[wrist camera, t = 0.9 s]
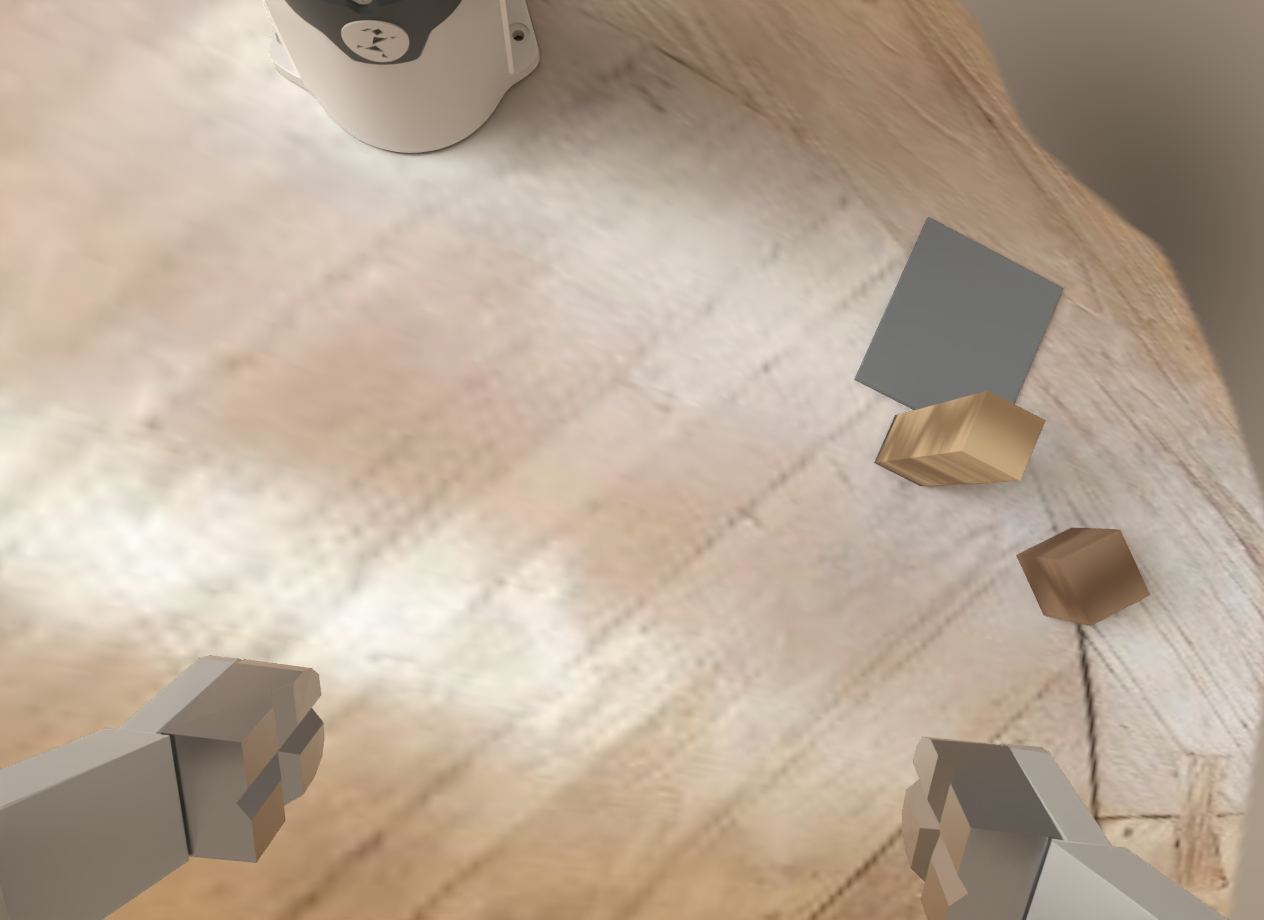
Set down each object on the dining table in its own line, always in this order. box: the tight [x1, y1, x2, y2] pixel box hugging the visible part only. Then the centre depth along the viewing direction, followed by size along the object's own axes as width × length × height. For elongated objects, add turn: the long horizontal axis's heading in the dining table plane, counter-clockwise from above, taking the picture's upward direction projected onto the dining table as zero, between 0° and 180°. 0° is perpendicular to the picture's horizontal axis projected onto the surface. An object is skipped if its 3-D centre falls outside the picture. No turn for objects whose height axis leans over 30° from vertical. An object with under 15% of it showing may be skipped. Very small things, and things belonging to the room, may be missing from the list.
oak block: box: [874, 391, 1046, 486], centre depth 50 cm, size 4×4×12 cm
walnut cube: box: [1016, 528, 1150, 626], centre depth 54 cm, size 5×5×5 cm
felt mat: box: [854, 218, 1063, 410], centre depth 56 cm, size 14×12×1 cm
